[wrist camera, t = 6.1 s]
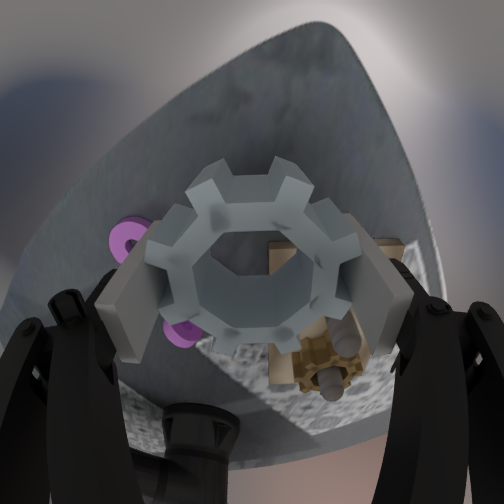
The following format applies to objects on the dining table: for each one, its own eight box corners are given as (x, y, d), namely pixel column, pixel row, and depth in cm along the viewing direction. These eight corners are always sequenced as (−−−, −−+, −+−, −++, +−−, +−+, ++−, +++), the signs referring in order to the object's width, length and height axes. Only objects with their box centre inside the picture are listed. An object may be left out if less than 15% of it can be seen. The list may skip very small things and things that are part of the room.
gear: (186, 303, 16) (172, 354, 12) (162, 163, 12) (127, 186, 8) (325, 298, 16) (341, 349, 12) (338, 156, 12) (372, 176, 8)
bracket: (231, 278, 29) (225, 324, 23) (201, 308, 31) (192, 354, 25) (128, 205, 25) (95, 237, 19) (107, 244, 27) (76, 280, 21)
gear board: (268, 376, 38) (270, 428, 30) (268, 241, 27) (273, 300, 19) (359, 368, 37) (373, 415, 30) (398, 238, 26) (440, 287, 19)
